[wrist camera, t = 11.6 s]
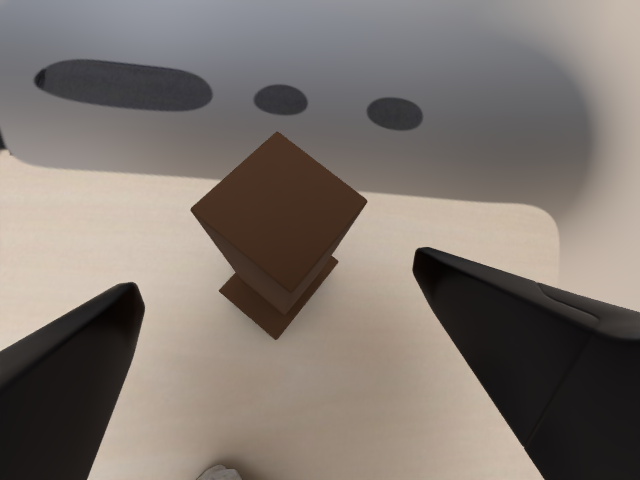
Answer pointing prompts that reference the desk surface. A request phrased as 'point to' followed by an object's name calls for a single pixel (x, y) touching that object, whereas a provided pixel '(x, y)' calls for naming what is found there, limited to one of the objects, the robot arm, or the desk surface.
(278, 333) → the stamp
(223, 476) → the stone
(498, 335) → the robot arm
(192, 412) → the desk surface
